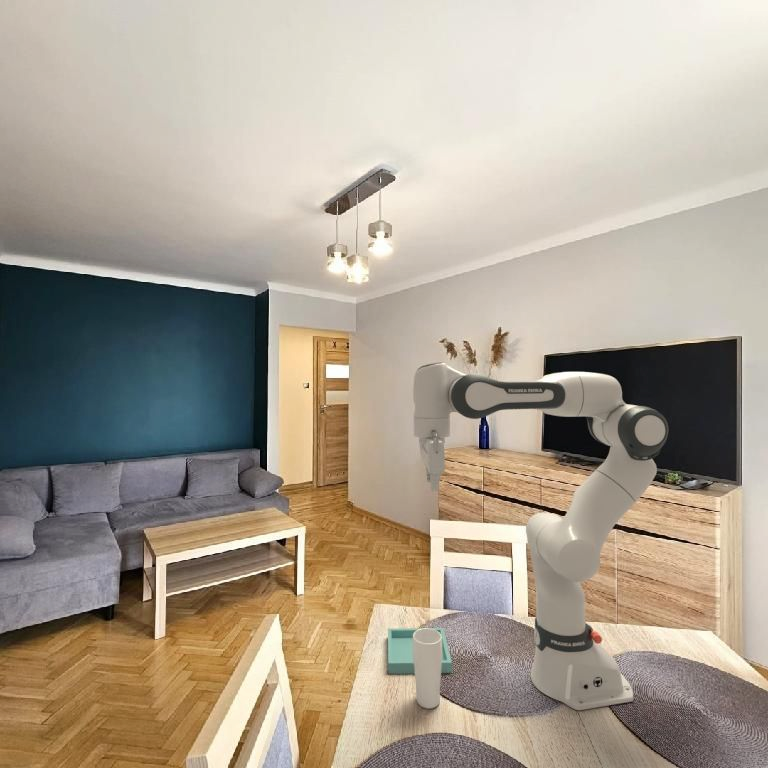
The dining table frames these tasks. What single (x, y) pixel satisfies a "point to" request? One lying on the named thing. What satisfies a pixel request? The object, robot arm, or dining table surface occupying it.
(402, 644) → the tray
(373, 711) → the dining table surface
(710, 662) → the dining table surface
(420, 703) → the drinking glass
